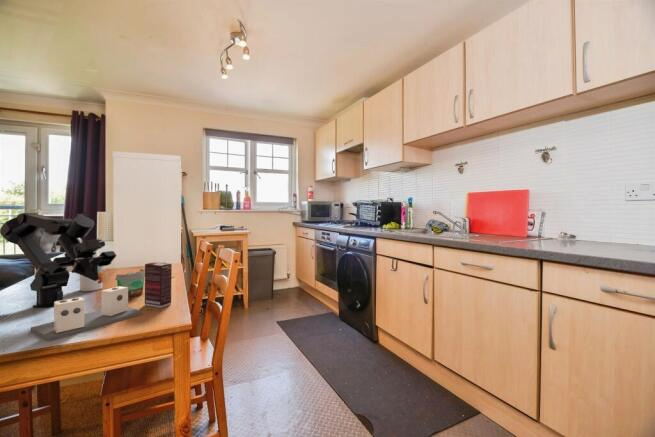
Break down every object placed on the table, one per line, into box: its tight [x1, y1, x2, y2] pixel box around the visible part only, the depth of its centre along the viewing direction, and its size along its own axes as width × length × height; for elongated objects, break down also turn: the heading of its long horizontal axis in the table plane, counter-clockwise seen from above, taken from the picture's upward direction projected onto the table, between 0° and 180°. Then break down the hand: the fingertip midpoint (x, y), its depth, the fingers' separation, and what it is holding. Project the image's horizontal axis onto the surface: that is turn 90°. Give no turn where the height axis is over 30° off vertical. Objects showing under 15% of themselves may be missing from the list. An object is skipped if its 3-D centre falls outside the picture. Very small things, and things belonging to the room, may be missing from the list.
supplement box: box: [144, 261, 173, 309], centre depth 107 cm, size 9×5×16 cm, turn 71°
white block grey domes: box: [53, 296, 85, 333], centre depth 82 cm, size 4×6×8 cm
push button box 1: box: [100, 286, 129, 316], centre depth 95 cm, size 4×6×8 cm
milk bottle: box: [79, 249, 104, 292], centre depth 125 cm, size 8×8×20 cm
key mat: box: [30, 306, 143, 342], centre depth 90 cm, size 24×13×1 cm, turn 152°
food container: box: [115, 269, 145, 299], centre depth 118 cm, size 12×6×10 cm, turn 168°
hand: (96, 279), depth 97 cm, fingers closed
